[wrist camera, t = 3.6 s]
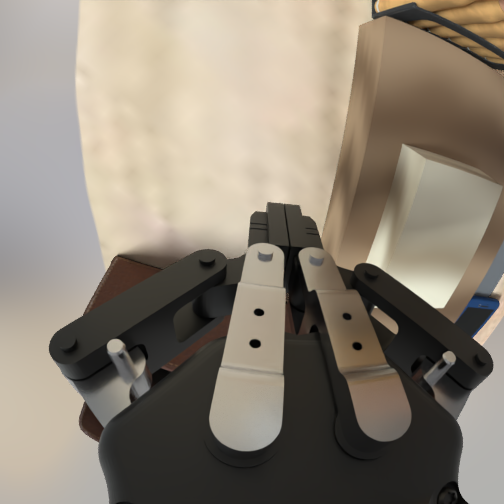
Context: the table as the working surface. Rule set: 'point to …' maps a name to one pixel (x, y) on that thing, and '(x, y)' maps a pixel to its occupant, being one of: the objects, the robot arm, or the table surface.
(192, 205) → the table surface
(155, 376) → the letter holder
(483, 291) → the mat
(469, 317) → the cell phone
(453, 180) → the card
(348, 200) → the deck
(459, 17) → the ammunition clip
